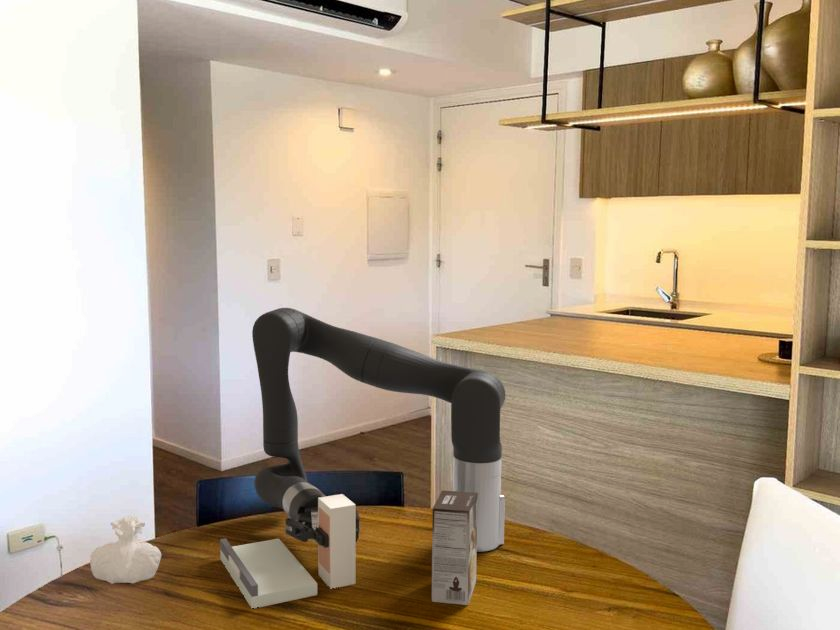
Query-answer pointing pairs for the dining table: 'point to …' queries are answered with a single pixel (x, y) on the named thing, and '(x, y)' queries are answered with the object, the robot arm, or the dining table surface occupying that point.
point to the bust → (125, 555)
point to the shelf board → (267, 572)
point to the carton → (337, 541)
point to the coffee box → (454, 547)
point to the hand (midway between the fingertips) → (341, 539)
